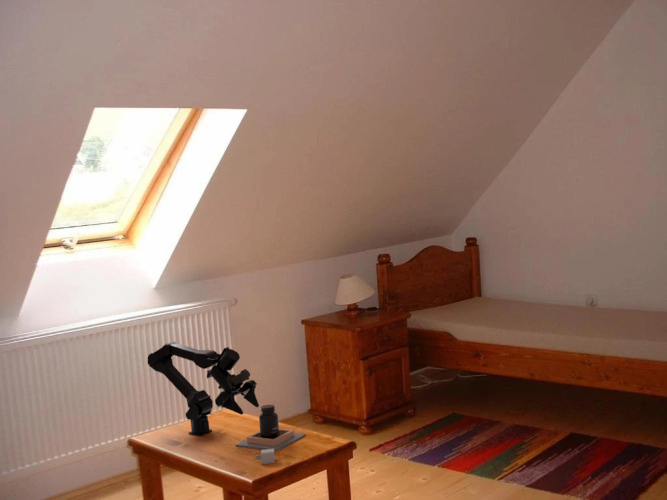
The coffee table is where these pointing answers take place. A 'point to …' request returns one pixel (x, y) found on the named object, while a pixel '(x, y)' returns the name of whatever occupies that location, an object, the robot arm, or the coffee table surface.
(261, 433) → the supplement bottle
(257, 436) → the dock tray
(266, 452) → the usb wall charger
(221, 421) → the coffee table surface
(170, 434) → the coffee table surface
